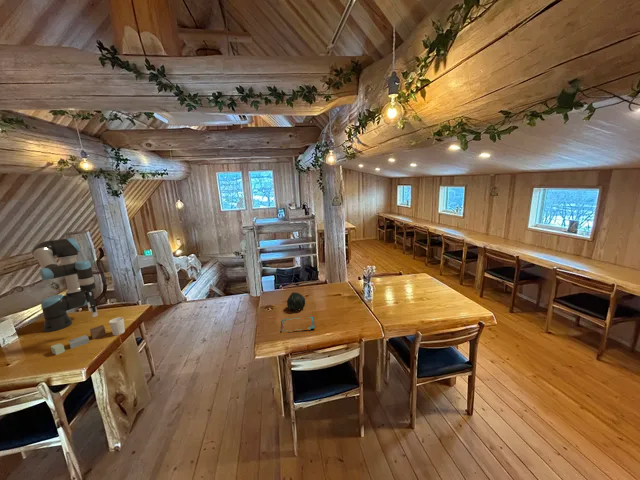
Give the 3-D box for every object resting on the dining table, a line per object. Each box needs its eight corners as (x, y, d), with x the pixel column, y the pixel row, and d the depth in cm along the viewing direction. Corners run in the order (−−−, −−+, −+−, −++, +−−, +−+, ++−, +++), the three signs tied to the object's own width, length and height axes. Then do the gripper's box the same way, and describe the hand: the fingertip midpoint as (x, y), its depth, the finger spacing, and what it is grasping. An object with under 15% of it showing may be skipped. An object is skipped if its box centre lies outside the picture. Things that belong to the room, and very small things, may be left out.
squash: (310, 299, 211) (298, 286, 211) (305, 307, 197) (292, 293, 196) (299, 308, 215) (286, 295, 215) (293, 317, 201) (280, 304, 201)
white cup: (124, 328, 185) (121, 316, 183) (127, 332, 180) (124, 319, 178) (110, 333, 179) (107, 320, 177) (113, 337, 174) (110, 323, 172)
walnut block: (91, 336, 176) (89, 328, 175) (104, 332, 181) (102, 324, 180) (92, 339, 172) (91, 331, 171) (106, 335, 178) (104, 327, 176)
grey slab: (69, 345, 167) (68, 340, 166) (87, 339, 174) (86, 334, 173) (71, 349, 162) (69, 344, 162) (89, 342, 169) (88, 338, 168)
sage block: (52, 353, 159) (50, 346, 158) (60, 349, 162) (59, 342, 162) (56, 355, 156) (54, 348, 155) (65, 351, 160) (63, 345, 159)
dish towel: (315, 331, 173) (315, 327, 173) (280, 334, 171) (280, 330, 171) (313, 318, 190) (313, 315, 190) (281, 321, 188) (281, 318, 188)
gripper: (76, 281, 175) (83, 310, 179) (82, 289, 158) (89, 321, 162) (91, 278, 180) (97, 306, 184) (97, 286, 164) (104, 316, 168)
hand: (93, 313), depth 173 cm, fingers open, 13 cm apart
